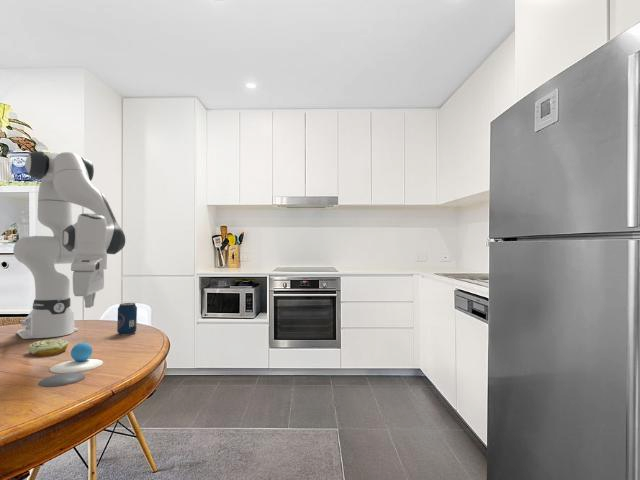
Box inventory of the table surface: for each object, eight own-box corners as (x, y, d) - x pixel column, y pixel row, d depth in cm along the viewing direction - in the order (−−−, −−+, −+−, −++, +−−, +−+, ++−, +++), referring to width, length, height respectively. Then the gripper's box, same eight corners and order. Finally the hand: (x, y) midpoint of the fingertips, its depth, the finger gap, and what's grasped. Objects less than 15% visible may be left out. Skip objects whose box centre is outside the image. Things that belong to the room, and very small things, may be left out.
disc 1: (31, 381, 96) (31, 380, 96) (74, 371, 104) (74, 370, 104) (49, 389, 90) (49, 388, 90) (92, 378, 99) (92, 377, 99)
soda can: (113, 333, 151) (114, 304, 151) (130, 330, 156) (131, 302, 157) (123, 336, 147) (123, 305, 147) (139, 333, 153) (140, 303, 153)
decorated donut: (27, 359, 116) (27, 347, 116) (29, 351, 125) (29, 340, 125) (67, 354, 122) (67, 342, 122) (67, 347, 130) (67, 336, 131)
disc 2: (41, 367, 107) (41, 367, 107) (89, 357, 118) (89, 356, 118) (62, 376, 100) (62, 375, 100) (111, 364, 111) (111, 363, 111)
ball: (67, 345, 114) (66, 363, 111) (78, 339, 112) (77, 358, 109) (85, 346, 118) (84, 363, 116) (96, 340, 116) (95, 358, 114)
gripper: (89, 262, 129) (87, 302, 129) (68, 265, 110) (67, 312, 109) (109, 262, 131) (108, 302, 131) (93, 265, 111) (91, 312, 111)
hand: (89, 307), depth 120 cm, fingers closed
